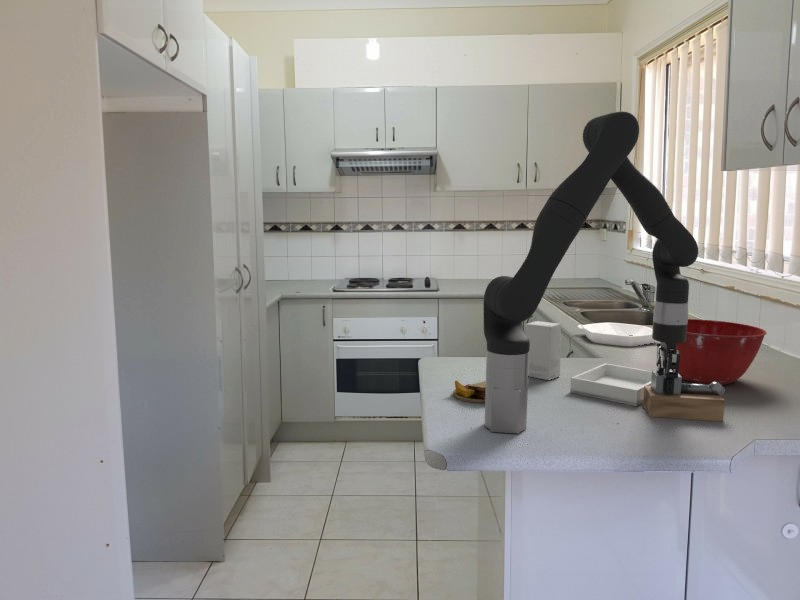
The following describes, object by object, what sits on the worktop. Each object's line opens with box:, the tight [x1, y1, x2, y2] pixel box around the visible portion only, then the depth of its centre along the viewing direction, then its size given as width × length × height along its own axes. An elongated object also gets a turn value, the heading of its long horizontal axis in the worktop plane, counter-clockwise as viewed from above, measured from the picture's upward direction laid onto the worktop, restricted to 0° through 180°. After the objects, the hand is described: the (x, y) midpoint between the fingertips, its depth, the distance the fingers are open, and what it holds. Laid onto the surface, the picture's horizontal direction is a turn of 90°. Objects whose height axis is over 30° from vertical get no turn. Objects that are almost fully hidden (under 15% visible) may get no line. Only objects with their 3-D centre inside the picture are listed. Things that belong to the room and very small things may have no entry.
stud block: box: [642, 386, 726, 422], centre depth 156 cm, size 9×16×8 cm, turn 79°
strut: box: [651, 369, 726, 396], centre depth 156 cm, size 6×16×4 cm, turn 79°
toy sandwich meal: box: [452, 380, 486, 404], centre depth 168 cm, size 12×14×5 cm
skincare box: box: [524, 320, 562, 381], centre depth 188 cm, size 8×7×16 cm
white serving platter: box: [577, 322, 655, 347], centre depth 243 cm, size 31×25×4 cm
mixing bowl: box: [659, 318, 767, 386], centre depth 187 cm, size 28×28×16 cm
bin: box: [569, 362, 652, 407], centre depth 175 cm, size 22×18×4 cm
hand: (665, 390), depth 157 cm, fingers closed on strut, 5 cm apart
